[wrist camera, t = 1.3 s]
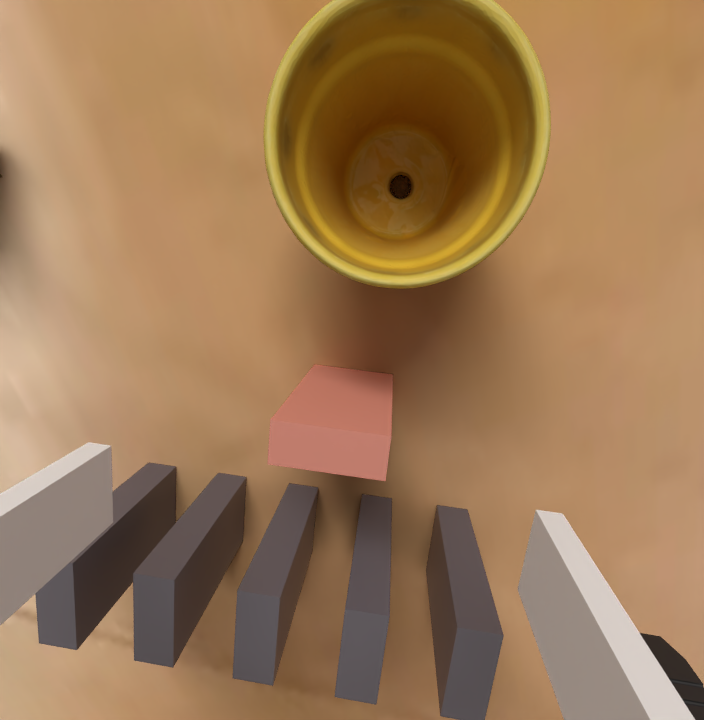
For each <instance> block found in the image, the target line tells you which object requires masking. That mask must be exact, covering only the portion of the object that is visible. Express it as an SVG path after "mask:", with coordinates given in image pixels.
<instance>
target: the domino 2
mask: <svg viewBox="0 0 704 720" xmlns="http://www.w3.org/2000/svg"><path fill="white" fill-rule="evenodd" d="M245 494H246V477H243V476H236V475H230V474H223V473H218V474H217V475H216V476H215V477H214V478H213V480H212V481H211V482H210V483H209V484H208V485H207V487H206V488H205V489H204V490H203V491H202V493H201V494H200V495H199V496H198V497H197V498H196V500H195V501H194V502H193V503H192V504H191V506H190V507H189V508H188V509H187V510H186V511H185V513H184V514H183V515H182V516H181V517H180V519H179V520H178V521H177V522H176V523H175V524H174V526H173V527H172V528H171V529H170V530H169V532H168V533H167V534H166V535H165V536H164V537H163V539H162V540H161V541H160V542H159V543H158V545H157V546H156V547H155V548H154V549H153V550H152V552H151V553H150V554H149V555H148V556H147V558H146V559H145V560H144V561H143V562H142V563H141V565H140V566H139V567H138V568H137V569H136V571H135V572H134V573H133V601H134V660H135V661H140V662H146V663H151V664H157V665H162V666H168V667H174V665H175V663H176V661H177V660H178V658H179V656H180V654H181V652H182V651H183V649H184V647H185V645H186V643H187V641H188V640H189V638H190V636H191V634H192V632H193V631H194V629H195V627H196V625H197V623H198V621H199V620H200V618H201V616H202V614H203V612H204V611H205V609H206V607H207V605H208V603H209V602H210V600H211V598H212V596H213V594H214V592H215V591H216V589H217V587H218V585H219V583H220V582H221V580H222V578H223V576H224V574H225V572H226V571H227V569H228V567H229V565H230V563H231V562H232V560H233V558H234V556H235V554H236V552H237V551H238V549H239V547H240V545H241V543H242V542H243V530H244V512H245Z"/></svg>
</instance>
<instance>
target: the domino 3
mask: <svg viewBox="0 0 704 720" xmlns="http://www.w3.org/2000/svg"><path fill="white" fill-rule="evenodd" d="M317 496H318V487H311V486H304V485H297V484H291V483H289V485H288V487H287V489H286V491H285V493H284V495H283V497H282V499H281V502H280V504H279V506H278V508H277V510H276V512H275V514H274V516H273V518H272V520H271V522H270V524H269V526H268V528H267V530H266V533H265V535H264V537H263V539H262V541H261V543H260V545H259V547H258V549H257V551H256V553H255V555H254V557H253V559H252V561H251V563H250V566H249V568H248V570H247V572H246V574H245V576H244V578H243V580H242V582H241V584H240V586H239V588H238V590H237V607H236V626H235V645H234V663H233V678H234V679H240V680H245V681H251V682H256V683H261V684H267V685H272V686H273V684H274V681H275V677H276V674H277V670H278V667H279V664H280V660H281V657H282V653H283V650H284V646H285V643H286V640H287V636H288V633H289V629H290V626H291V622H292V619H293V616H294V612H295V609H296V605H297V602H298V598H299V595H300V592H301V588H302V585H303V581H304V578H305V574H306V571H307V567H308V564H309V561H310V557H311V554H312V547H313V537H314V527H315V516H316V506H317Z"/></svg>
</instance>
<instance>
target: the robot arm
mask: <svg viewBox="0 0 704 720" xmlns="http://www.w3.org/2000/svg"><path fill="white" fill-rule="evenodd" d="M112 523H113V495H112V453H111V446H110V445H103V444H96V443H90V442H88V443H87V444H85V445H83V446H81V447H80V448H78V449H76V450H74V451H73V452H71V453H69V454H68V455H66V456H64V457H62V458H61V459H59V460H57V461H56V462H54V463H52V464H50V465H49V466H47V467H45V468H44V469H42V470H40V471H38V472H37V473H35V474H33V475H31V476H30V477H28V478H26V479H25V480H23V481H21V482H19V483H18V484H16V485H14V486H13V487H11V488H9V489H7V490H6V491H4V492H2V493H0V625H1V624H2V623H3V622H5V621H6V620H7V619H8V618H9V617H10V616H11V615H12V614H13V613H14V612H16V611H17V610H18V609H19V608H20V607H21V606H22V605H23V604H24V603H25V602H27V601H28V600H29V599H30V598H31V597H32V596H33V595H34V594H35V593H36V592H38V591H39V590H40V589H41V588H42V587H43V586H44V585H45V584H46V583H47V582H49V581H50V580H51V579H52V578H53V577H54V576H55V575H56V574H57V573H58V572H59V571H61V570H62V569H63V568H64V567H65V566H66V565H67V564H68V563H69V562H70V561H72V560H73V559H74V558H75V557H76V556H77V555H78V554H79V553H80V552H81V551H83V550H84V549H85V548H86V547H87V546H88V545H89V544H90V543H91V542H92V541H94V540H95V539H96V538H97V537H98V536H99V535H100V534H101V533H102V532H103V531H105V530H106V529H107V528H108V527H109V526H110V525H111V524H112ZM518 592H519V595H520V597H521V600H522V603H523V606H524V609H525V611H526V614H527V617H528V620H529V623H530V625H531V628H532V631H533V634H534V637H535V639H536V642H537V645H538V648H539V651H540V653H541V656H542V659H543V662H544V665H545V667H546V670H547V673H548V676H549V679H550V681H551V684H552V687H553V690H554V693H555V695H556V698H557V701H558V704H559V707H560V709H561V712H562V715H563V718H564V720H704V688H703V683H702V682H701V680H700V679H699V678H698V676H697V675H696V673H695V672H694V671H693V669H692V668H691V666H690V665H689V664H688V662H687V661H686V660H685V658H683V657H682V656H681V655H680V654H679V653H678V652H677V651H676V650H675V649H674V648H672V647H671V646H670V645H669V644H668V643H667V642H666V641H665V640H664V639H663V638H661V637H660V636H654V635H649V634H643V633H639V631H638V630H637V628H636V627H635V625H634V624H633V622H632V621H631V619H630V617H629V616H628V614H627V613H626V611H625V610H624V608H623V607H622V605H621V603H620V602H619V600H618V599H617V597H616V596H615V594H614V593H613V591H612V589H611V588H610V586H609V585H608V583H607V582H606V580H605V579H604V577H603V575H602V574H601V572H600V571H599V569H598V568H597V566H596V565H595V563H594V561H593V560H592V558H591V557H590V555H589V554H588V552H587V551H586V549H585V547H584V546H583V544H582V543H581V541H580V540H579V538H578V537H577V535H576V533H575V532H574V530H573V529H572V527H571V526H570V524H569V523H568V521H567V519H566V518H565V516H564V515H563V514H562V513H555V512H548V511H542V510H536V511H535V515H534V520H533V524H532V529H531V533H530V537H529V542H528V546H527V551H526V555H525V559H524V564H523V568H522V573H521V577H520V581H519V586H518Z"/></svg>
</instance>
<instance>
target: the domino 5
mask: <svg viewBox="0 0 704 720" xmlns="http://www.w3.org/2000/svg"><path fill="white" fill-rule="evenodd" d="M391 520H392V498H385V497H379V496H372V495H365V494H362V499H361V506H360V513H359V519H358V526H357V533H356V540H355V546H354V553H353V560H352V567H351V573H350V580H349V587H348V593H347V600H346V607H345V615H344V623H343V631H342V640H341V648H340V656H339V664H338V673H337V681H336V689H335V697H338V698H343V699H349V700H354V701H360V702H365V703H371V704H377V697H378V690H379V684H380V677H381V670H382V663H383V657H384V650H385V643H386V637H387V630H388V623H389V616H390V568H391Z"/></svg>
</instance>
